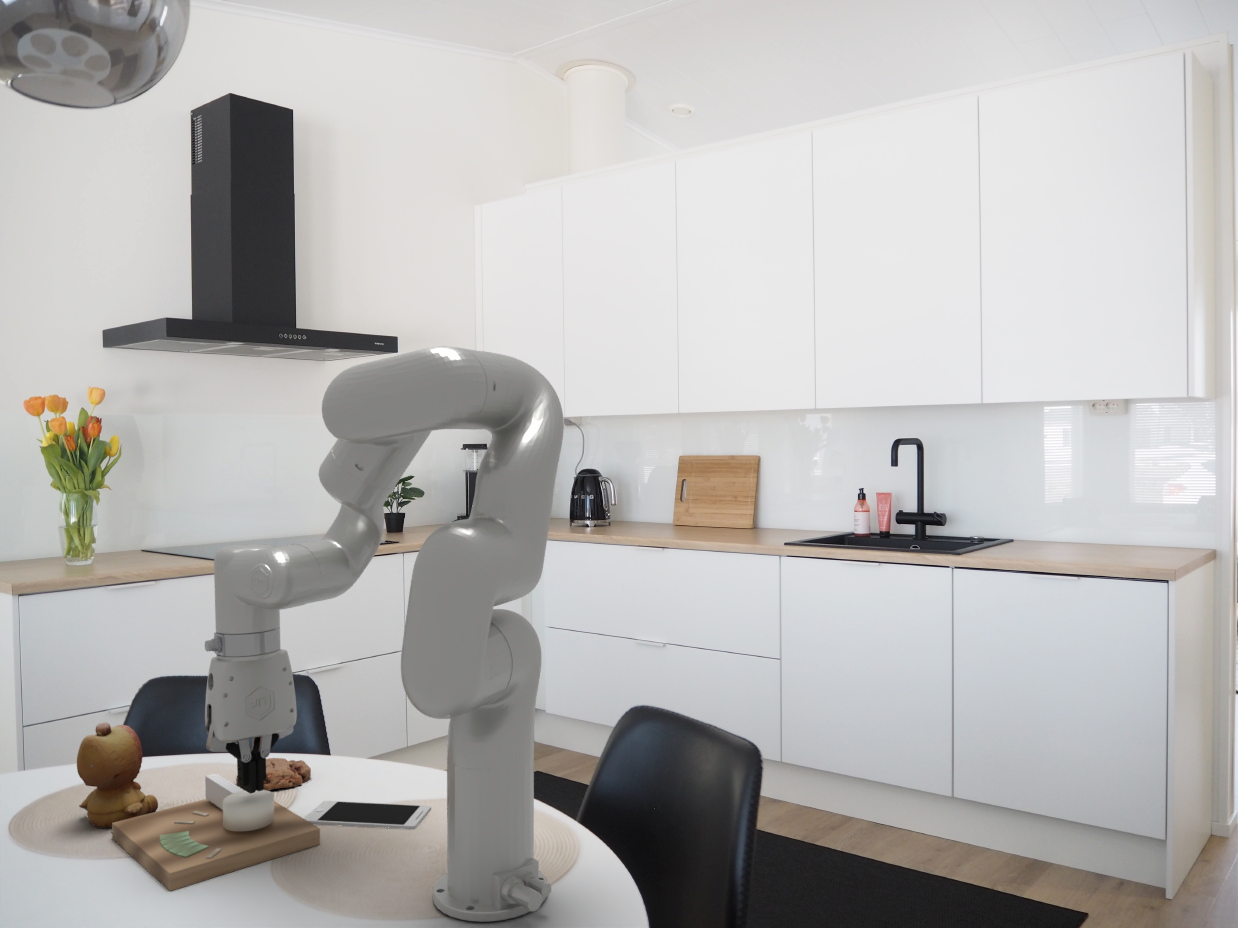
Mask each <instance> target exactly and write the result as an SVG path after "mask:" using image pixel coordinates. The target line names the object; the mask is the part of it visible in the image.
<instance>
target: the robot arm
mask: <svg viewBox="0 0 1238 928" xmlns="http://www.w3.org/2000/svg"><path fill="white" fill-rule="evenodd" d="M563 413H564V412H563V408H562V405H561V401H560V397H559V395H558V393H557V392H556V390H555V388H554V386H553V385H552V383H551V382H550V381H549V379H547V378H546V377H545V375H544V374H542V373H541V372H540V371H539V370H538V369H537V368H535V367H534V366H532V365H530V364H529V363H528V362H525V361H523V360H521V359H518V358H516V357H513V356H509V355H505V354H502V353H501V354H500V353H496V352H490V351H483V350H475V349H469V348H462V347H456V346H444V345H442V346H433V347H426V348H421V349H418V350H413V351H409V352H405V353H401V354H396V355H393V356H388V357H386V358H381V359H376V360H373V361H369V362H363V363H359V364H356V365H353V366H350V367H349V368H346V369H344V370H343V371H341V372H340V373H339V374H337V376H335V377H334V378H333V379H332V380H331V382H330V383H329V384H328V386H327V388H326V390H325V391H324V395H323V399H322V402H321V415H322V420H323V423H324V425H325V427H326V429H327V430H328V432H329V433H330V434H331V435H332V436H333V437H335V439H337V440H336V441H335V442H334V445H333V446H332V447H331V448H330V451H329V452H328V454H327V455H326V456H325V458H324V460H323V461H322V462H321V464H320V465H319V468H318V478H319V481H320V484H321V485H322V488H323V489H324V490H325V491H326V492H327V494H328V495H329V496H331V498H332V499H334V500H335V501H336V502H337V503H339V504H341V505H340V509H339V511H338V513H337V516H336V517H335V519H334V520H333V522H332V523H331V526H330V527H329V528H328V530H327V531H326V532H325V534H324V536H322V538H321V539H320V540H315V541H309V542H300V543H295V544H294V543H293V544H290V545H288V544H287V545H282V546H281V545H279V546H275V547H274V546H272V545H268V544H260V543H251V544H250V543H248V544H234V545H227V546H224V547H221V548H220V549H218V551H217V552H216V553H215V555H214V559H213V571H214V572H213V575H214V576H213V577H214V580H213V581H214V612H215V613H214V615H215V632H213V633H214V634H213V638H211V639H209V640H205V641H204V650H205V652H213V653H214V654H215V655H216V656H213V657H212V658H211V660H210V664H209V669H208V674H207V682H206V690H205V703H204V704H205V706H204V723H205V726H204V727H205V732H206V734H207V739H206V744H205V748H206V750H208V751H210V752H213V753H214V752H215V753H226V752H227V753H229V754H230V756H233V757H234V758H235V759H236V769H237V775H238V784H237V785H238V786H239V787H240V788H241V789H242V790H245V791H247V792H248V793H250V794H251V793H255V791H256V790H257V791H262V790H264V781H265V780H266V759H267V758H268V757H269V756H270V754H271V750H272V748H273V747H274V746H275V745H276V743H277V742H278V740H281V739H283V738H286V737H287V736H290V735H291V734H293V733H294V731H295V730H294V726H295V725H296V722H297V716H298V715H297V713H298V711H297V700H296V699H297V698H296V690H295V682H294V676H293V670H292V665H291V660H290V656H289V654H288V650H286V649H282V648H281V616H280V615H281V613H280V611H281V610H287V609H292V608H296V607H301V606H304V605H305V606H306V605H307V604H312V603H316V602H323V601H327V600H332V599H335V598H337V597H339V596H341V595H343V594H345V593H346V592H347V591H348V590H349V589H350V588H352V587H353V586H354V584H355V583H357V581H358V579H360V577H361V576H362V574H363V573H364V571H365V570H366V569H367V567H368V566H369V564H370V562H372V559H373V558H374V556H376V553H377V551H378V550H379V547H380V545H381V542H382V538H383V533H384V526H385V512H384V511H385V509H384V505H385V503H386V501H387V499H388V498H389V496H390V495H391V493H392V492H393V490H394V489H395V487H396V486H397V485H398V483H399V481H400V480H401V478H402V477H403V475H404V473H405V472H406V471H407V469H408V468H409V466H410V465H411V463H412V461H413V460H414V458H415V457H416V456H417V454H418V453H419V451H420V449H421V448H422V447H423V446H424V443H425V442H426V441H427V439H428V438H429V436H430V434H431V433H432V432H434V431H439V430H486V431H488V432H490V434H491V440H490V443H489V445H488V447H487V449H486V451H485V452H484V454H483V457H482V459H481V461H480V464H479V467H478V470H477V474H476V478H475V487H474V496H473V501H472V506H471V510H470V514H469V517H468V518H465V519H459V520H453V521H451V522H448V523H445V524H443V525H441V526H439V527H437V528H436V529H435V530H434V531H433V532H432V533H430V534H429V536H428V537H427V538H426V539H425V540H424V542H423V544H422V545H421V547H420V549H419V551H418V553H417V556H416V558H415V561H414V565H413V569H412V575H411V580H410V588H409V593H408V600H407V602H408V603H407V607H406V608H407V609H406V616H405V623H404V631H403V638H402V645H401V655H400V675H401V681H402V687H403V689H404V693H405V694H406V697H407V699H408V700H409V702H410V703H411V705H412V706H413V707H414V708H415V709H416V711H418V712H420V713H421V714H423V715H424V716H427V717H429V718H431V719H432V718H433V719H437V720H438V719H439V720H449V722H448V730H447V742H446V748H447V749H446V755H447V756H446V823H447V824H446V831H447V833H446V834H447V835H446V847H447V848H446V849H447V853H446V855H447V856H446V859H447V863H446V865H447V866H446V867H447V869H446V873H444V874H443V875H442V876H441V877H439V878H438V880H437V881H436V882H435V883H434V886H433V889H432V900H433V903H434V905H435V907H436V909H438V910H440V911H441V913H442V914H445V915H447V916H448V917H452V918H455V919H457V920H462V921H467V922H478V923H479V922H480V923H483V922H488V923H489V922H498V921H504V920H506V921H507V920H509V919H514V918H518V917H520V916H523V915H526V914H528V913H530V912H533V913H534V912H536V911H537V910H539V909H540V907H541V906H542V904H543V903H544V901H545V900H546V898H547V897H548V896H549V895H550V893H552V885H551V884H550V883H548V879H547V877H546V875H544V873H543V872H541V870H539V868H540V867H539V865H540V863H539V860H537V859H535V853H534V852H535V840H534V839H535V827H534V826H535V813H534V812H535V811H534V810H535V808H534V807H535V806H534V805H535V800H534V799H535V798H534V797H535V792H534V791H535V790H534V789H535V788H534V786H535V782H534V781H535V773H534V772H535V771H534V770H535V768H534V767H535V765H534V764H535V763H534V761H535V760H534V759H535V758H534V756H535V717H536V714H535V713H536V705H537V703H536V702H537V696H538V691H539V690H538V689H539V684H540V677H541V671H542V647H541V641H540V638H539V636H538V633H537V632H536V630H535V628H534V627H533V625H532V624H531V622H529V620H528V619H527V618H526V617H524V616H522V615H521V614H519V613H518V612H516V611H513V610H510V609H503V608H494V607H498V606H499V605H503V604H506V603H509V602H510V603H511V602H512V601H516V600H518V599H521V598H523V597H525V596H527V595H529V594H530V593H531V592H532V591H533V590H534V589H535V588H536V586H537V585H538V584H539V582H540V579H541V578H542V574H543V568H544V563H545V557H546V556H545V555H546V549H547V542H548V535H549V529H550V522H551V516H552V508H553V501H554V491H555V485H556V484H555V483H556V478H557V473H558V466H559V461H560V456H561V451H562V446H563V445H562V444H563V439H564V431H565V430H564V429H565V428H564V424H565V423H564V414H563ZM251 739H252V740H251ZM250 740H251V741H252V742H251V747H250V742H249V741H250Z"/></svg>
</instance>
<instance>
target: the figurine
mask: <svg viewBox="0 0 1238 928" xmlns="http://www.w3.org/2000/svg"><path fill="white" fill-rule="evenodd" d="M141 744H142V743H141V740H140V738H139V736H138V734H137V733H136V732H135V730H134V729H133V728H131V727H130V726H129V725H125V724H117V725H115V726H111V724H110V723H108V722H104V721H102V722H100V723H98V724H97V725H96V726H95V734H89V735H86V736H85V737H84V738H83V739H82V740H81V742H80V745H79V748H78V752H77V756H76V770H77V775H78V776H79V778H80V779H81V780H82V781H83V783H84V784H85V786H87V787H95V788H94V790H92V791H91V792H89V794H88V795H87V796H86V798H85V799H84V800H83V801H82V802H81V804H79V805H78V806H79V808H81V809H84V810H85V811H86V812H87V813H86V814H87V819H88V821H89V823H90V824H91V825H92V826H93V827H96V828H99V829H100V828H101V829H105V828H107V829H108V828H110V829H112V823H114V822H118V821H122V820H126V819H130V818H133V817H137V816H141V815H145V814H149V813H153V812H157V811H158V808H159V801H158V799H157V797H156V796H155V795H153V794H148V795H146V794H145V793H144V792H142V791H141V789H142V787H141V785H140V783H139V782H137V781H135V779H136V778H137V777H138V776H139V774H140V772H141V771H140V770H141V768H142V763H143V752H142V751H143V748H142V745H141Z"/></svg>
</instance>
